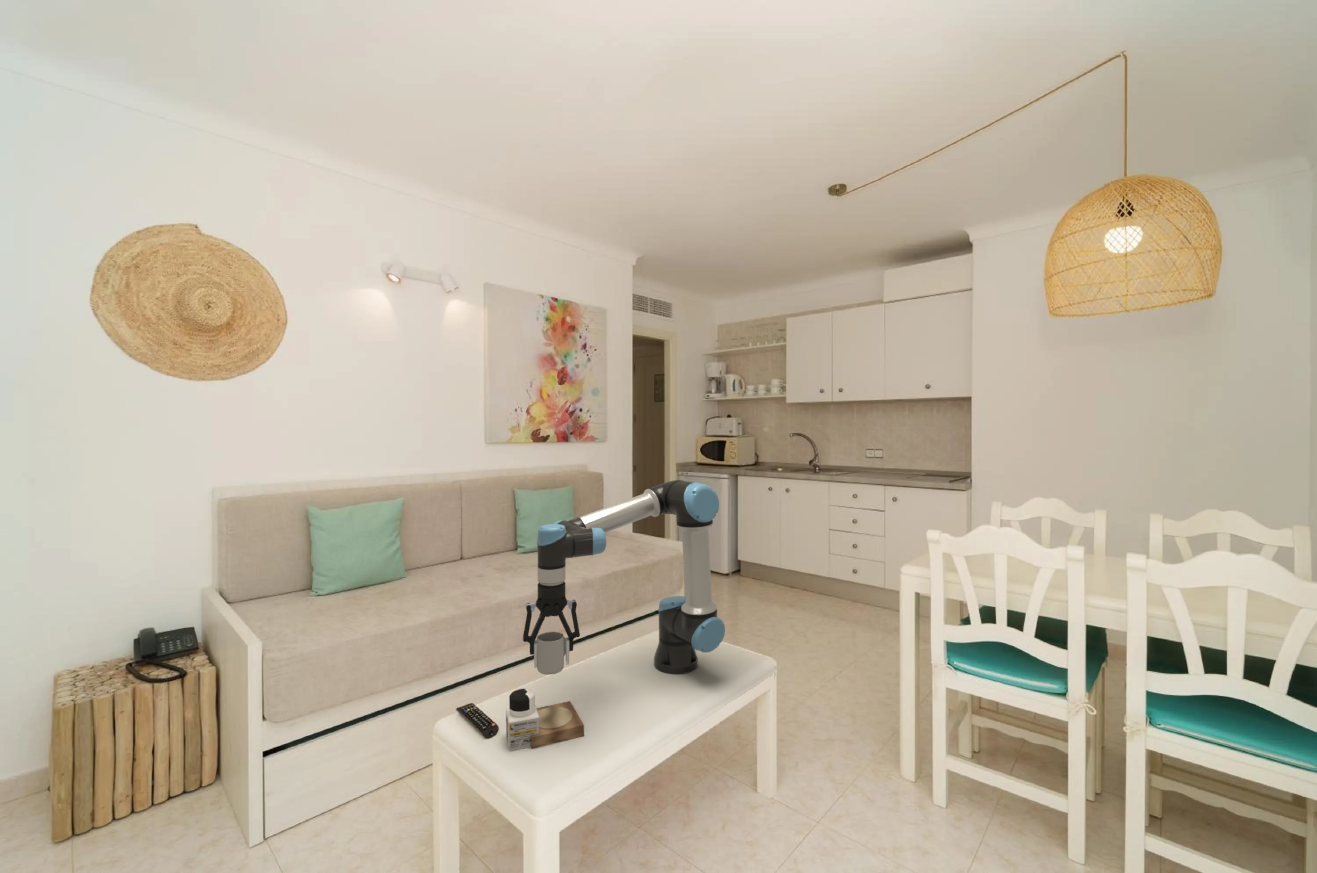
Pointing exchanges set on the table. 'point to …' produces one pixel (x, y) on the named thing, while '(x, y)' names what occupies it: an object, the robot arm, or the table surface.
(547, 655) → the cup
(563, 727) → the pedestal
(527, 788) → the table surface
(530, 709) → the container
